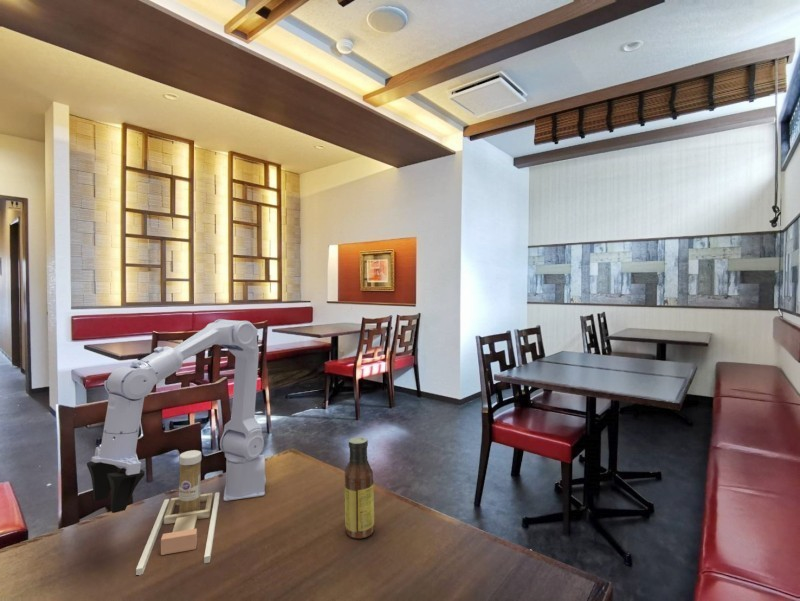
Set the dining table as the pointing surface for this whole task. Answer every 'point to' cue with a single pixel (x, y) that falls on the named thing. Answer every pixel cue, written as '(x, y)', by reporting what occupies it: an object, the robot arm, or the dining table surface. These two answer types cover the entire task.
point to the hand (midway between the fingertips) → (109, 505)
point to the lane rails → (156, 529)
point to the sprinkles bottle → (189, 481)
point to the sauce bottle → (359, 491)
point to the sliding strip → (183, 526)
